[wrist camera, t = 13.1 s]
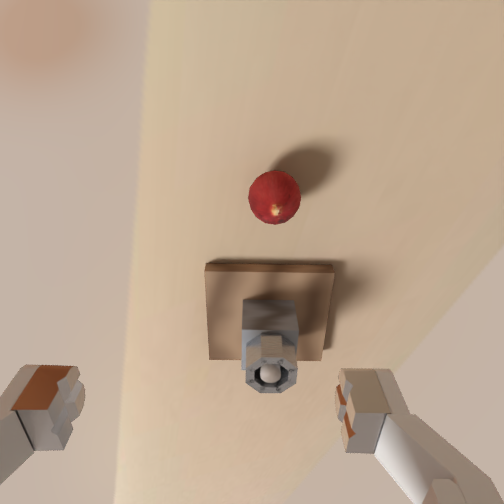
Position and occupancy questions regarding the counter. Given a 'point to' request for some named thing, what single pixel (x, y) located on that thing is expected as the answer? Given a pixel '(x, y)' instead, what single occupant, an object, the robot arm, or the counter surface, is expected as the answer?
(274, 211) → the red rounded piece
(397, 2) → the counter surface
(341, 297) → the counter surface
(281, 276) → the post stand
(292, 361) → the collar
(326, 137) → the counter surface
